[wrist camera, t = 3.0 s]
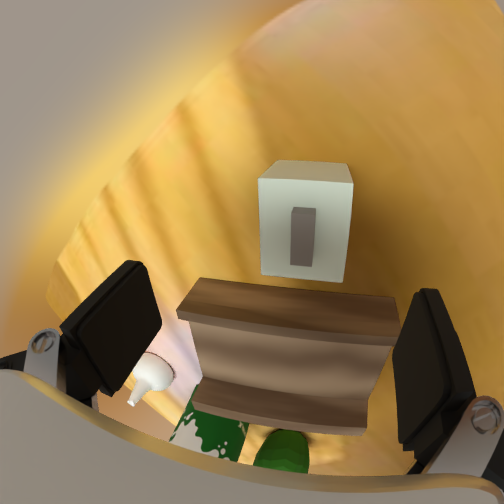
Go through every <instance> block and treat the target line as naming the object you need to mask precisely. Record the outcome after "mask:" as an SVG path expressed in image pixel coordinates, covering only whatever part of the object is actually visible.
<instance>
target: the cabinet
mask: <svg viewBox="0 0 504 504" xmlns="http://www.w3.org/2000/svg"><path fill="white" fill-rule="evenodd" d="M258 194H259V224H260V256H261V275H268V276H277V277H287V278H297V279H307V280H318V281H328V282H339V283H343V276H344V269H345V262H346V255H347V247H348V238H349V229H350V220H351V209H352V198H353V181H352V177H351V175H350V172H349V169H348V166H347V164H345V163H332V162H317V161H296V160H277V161H276V162H275V163H274V164H273V165H271V166H270V167H269V168H268V169H267V170H266V171H265V172H264V173H263V174H262V175H261V176H260V177H259V178H258Z"/></svg>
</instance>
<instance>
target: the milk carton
mask: <svg viewBox="0 0 504 504" xmlns="http://www.w3.org/2000/svg"><path fill="white" fill-rule="evenodd" d="M198 386H199V385H196V387H195V389H194V391H193V394H192V396H191V398H190V400H189V402H188V404H187V406H186V408H185V410H184V412H183V414H182V416H181V418H180V420H179V422H178V424H177V426H176V428H175V430H174V432H173V434H172V436H171V438H170V440H169V443H171V444H174V445H177V446H180V447H183V448H186V449H189V450H193V451H196V452H199V453H202V454H206V455H210V456H213V457H217V458H221V459H225V460H229V461H233V462H237V461H238V458H239V456H240V453H241V450H242V447H243V444H244V441H245V438H246V434H247V430H248V426H249V423H248V422H243V421H238V420H234V419H229V418H225V417H221V416H217V415H213V414H209V413H206V412H202V411H199V410H195V409H194V406H193V404H192V401H191V400H192V398H193V396H194V394H195V392H196V390H197V388H198Z"/></svg>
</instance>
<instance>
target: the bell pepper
mask: <svg viewBox="0 0 504 504" xmlns="http://www.w3.org/2000/svg"><path fill="white" fill-rule="evenodd" d="M253 466H257V467H262V468H268V469H274V470H281V471H288V472H296V473H305V474H308V469H309V448H308V442H307V440H306V438H304V437H303V435H302V434H301V433H300V432H297V431H294V430H286V429H282V430H278V431H276V432H275V433H272V434H270V435H269V436H268V437H267V438H266V440H265V441H264V443H263V444H262V446H261V448H260V449H259V451H258V453H257V454H256V457H255V460H254V463H253Z"/></svg>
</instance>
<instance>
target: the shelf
mask: <svg viewBox="0 0 504 504" xmlns="http://www.w3.org/2000/svg"><path fill="white" fill-rule="evenodd" d="M176 312H177V316H178V319H181V320H186V321H189V324H190V328H191V332H192V336H193V340H194V344H195V348H196V352H197V356H198V360H199V363H200V367H201V371H202V374H203V377H202V379H201V381H200V384H199V386H198V388H197V390H196V392H195V394H194V396H193V398H192V400H191V401H192V404H193V406H194V409H195V410H199V411H202V412H206V413H209V414H213V415H217V416H221V417H225V418H229V419H234V420H238V421H243V422H248V423H253V424H258V425H263V426H269V427H275V428H281V429H288V430H295V431H303V432H312V433H322V434H334V435H351V436H362V435H363V433H364V432H365V430H366V429H367V411H368V398H369V396H370V394H371V392H372V390H373V388H374V386H375V384H376V382H377V379H378V377H379V375H380V373H381V371H382V368H383V366H384V364H385V361H386V359H387V357H388V354H389V352H390V349H391V347H392V346H395V345H396V342H397V340H398V337H399V335H400V332H401V326H400V321H399V316H398V312H397V307H396V303H395V299H394V298H393V297H380V296H367V295H355V294H344V293H333V292H322V291H312V290H302V289H292V288H283V287H273V286H264V285H256V284H247V283H239V282H231V281H223V280H215V279H207V278H199V279H198V281H197V282H196V283H195V285H194V286H193V287H192V289H191V290H190V291H189V293H188V294H187V295H186V297H185V298H184V300H183V301H182V302H181V304H180V305H179V306H178V308H177V309H176Z"/></svg>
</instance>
